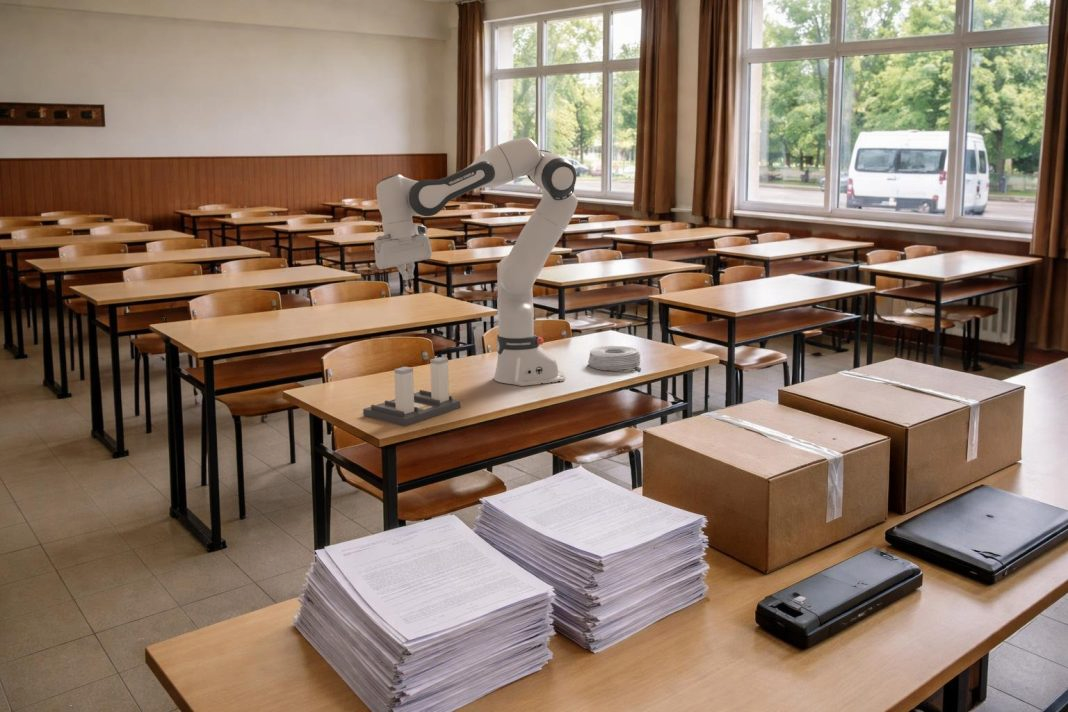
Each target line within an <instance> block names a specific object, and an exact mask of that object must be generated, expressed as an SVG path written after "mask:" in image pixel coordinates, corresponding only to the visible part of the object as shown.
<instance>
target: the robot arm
mask: <svg viewBox="0 0 1068 712" xmlns="http://www.w3.org/2000/svg"><path fill="white" fill-rule="evenodd" d="M524 176H526V177H527V179H528V180H529V181H531V182H532V183H533V184H535V185H536V186H537V187H538V188H540V189H542V196H541V200H540V202H539V203H538V205H537V206H536V207H535V209H534V211H533V212H532V214H531V216H530V217H529V219H528V220H527V222H526V223H525V225H524V227H523V228H522V229H521V231H520V233H519V235H518V237H517V239H516V241H515V243H514V245H513V247H512V249H511V250H510V252H509V254H508V255H505V256H504V257H503V258H502V259H501V260H500V261H499V263H498V266H497V269H496V270H497V272H496V273H497V275H496V277H497V278H496V280H497V305H498V306H497V310H498V313H497V314H498V315H497V316H498V319H497V321H498V325H497V326H498V334H497V336H496V338H497V339H496V352H497V362H496V367H495V373H494V375H493V379H494V381H496V382H498V383H503V384H507V385H508V384H509V385H514V386H520V387H526V386H534V385H541V383H543V384H550V383H551V382H552V383H558V381H560V382H564V381H565V380H566V376H565V373H564V372H562V371H561V370H559V368H558V362H557V360H556V358H555V357H554V356H553V355H552V354H551V353H549V352H548V351H546V350H545V349H544V348H542V347H541V346H540V345H544V343H545V341H544V338H543V337H540V336H538V335H536V334H534V333H535V332H534V330H535V329H534V327H535V326H534V325H535V324H534V323H535V322H534V320H535V318H534V317H535V316H534V315H535V314H534V313H535V312H534V295H533V289H534V288H533V286H534V284H535V282H536V280H537V279H538V277H539V275H540V274H541V272H542V270H543V268H544V266H545V264H546V262H547V260H548V258H549V256H550V255H551V253H552V252H553V249H555V246H556V245H557V243H558V242H559V240H560V239H561V237H562V236H563V233H564V232H565V231H566V229H567V228H568V226H569V224H570V222H571V220H572V217H573V216H574V214H575V212H576V209H577V206H578V202H579V201H578V198H577V196H576V194H575V193H574V192H575V186H576V182H577V171H576V169H575V167H574V165H573V164H572V163H571V162H570V160H568V159H566V158H564V157H563V156H561V155H560V154H557V153H553V152H551V151H548V150H543V149H539V146H538V144H537V143H536V142H535V141H534V140H533V139H531V138H529V137H526V136H525V137H519V138H515V139H512V140H509V141H505V142H503V143H500V144H498V145H495V146H494V147H493V146H492V147H491V148H489V149H487V150H486V151H484V152H483V153H481V154H479V155H478V156H477V157H475V159H474V161H472V163H471V164H470V165H467V167H465V168H463V169H461V170H460V171H457V172H455V173H453V174H450V175H448V176H446V177H441V178H440V179H421V180H415V179H411V178H409V177H405V176H404V175H402V174H400V173H399V174H397V173H396V174H393V175H389V176H387V177H385V178H382V179H380V180H379V181H378V182H377V185H376V187H375V189H376V192H375V193H376V199H377V200H376V201H377V205H378V210H379V212H380V214H381V225H382V231H383V235H379V236H377V237H376V238H375V240H374V242H373V243H374V244H373V245H374V258H375V265H376V267H377V268H378V270H384V269H385V270H386V269H390V268H394V267H396V268H397V270H398V272H399V273H400V275H401V277H402V280H403V281H408V280H412V279H414V278H415V275H414V271H415V267H416V264H415V263H417V262H421V261H425V260H429V259H431V258H432V255H433V252H432V251H433V250H432V246H431V242H430V238H429V236H428V235H427V233H428V229H427V227H426V225H425V226H424V225H422V224H417V223H415V222H414V221H413V216H414V215H415V216H416V215H417V216H422V217H432V216H435V215H437V214H438V213H440V212H441V210H442V209H443V208H444V207H445V206H446V205H447V204H448V203H449V202H450V201H452V200H453V199H456V198H458V197H461V196H463V195H464V194H467V193H469V192H471V191H474V190H477V189H481V188H485V189H488V188H489V189H490V188H494V187H498V186H502V185H505V184H508V183H510V182H512V181H515V180H516V179H518V178H521V177H524ZM406 268H407V270H406Z"/></svg>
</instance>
